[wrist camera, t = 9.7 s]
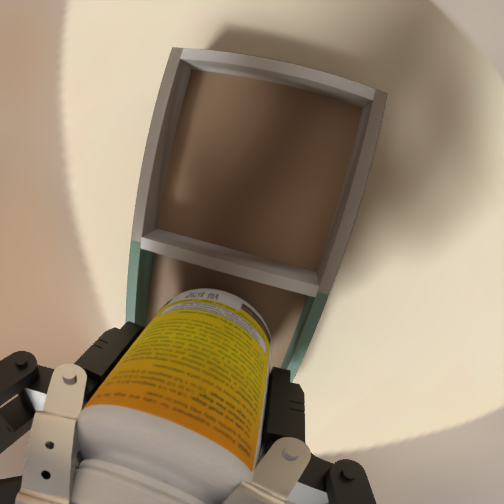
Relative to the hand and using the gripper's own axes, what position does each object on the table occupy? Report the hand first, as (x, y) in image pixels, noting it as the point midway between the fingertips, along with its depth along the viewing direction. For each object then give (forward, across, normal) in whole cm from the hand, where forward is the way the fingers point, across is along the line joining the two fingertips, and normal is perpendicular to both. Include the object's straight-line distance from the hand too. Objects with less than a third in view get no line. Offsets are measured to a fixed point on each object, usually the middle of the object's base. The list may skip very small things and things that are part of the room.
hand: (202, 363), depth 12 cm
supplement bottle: (+2, 0, 0) cm, 2 cm away
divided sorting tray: (+4, 0, -4) cm, 6 cm away
